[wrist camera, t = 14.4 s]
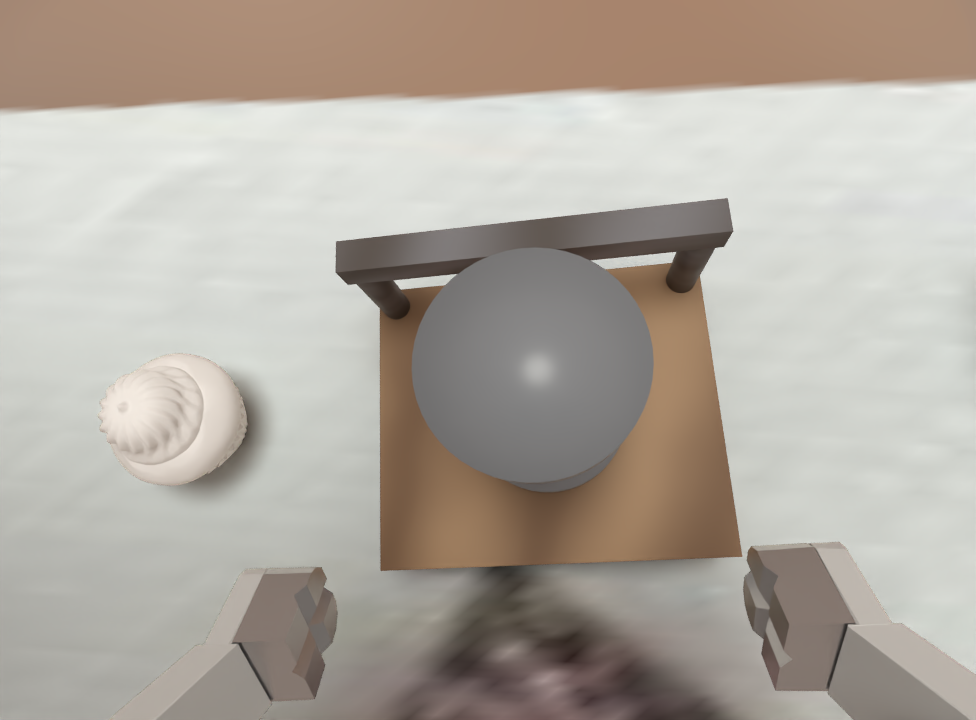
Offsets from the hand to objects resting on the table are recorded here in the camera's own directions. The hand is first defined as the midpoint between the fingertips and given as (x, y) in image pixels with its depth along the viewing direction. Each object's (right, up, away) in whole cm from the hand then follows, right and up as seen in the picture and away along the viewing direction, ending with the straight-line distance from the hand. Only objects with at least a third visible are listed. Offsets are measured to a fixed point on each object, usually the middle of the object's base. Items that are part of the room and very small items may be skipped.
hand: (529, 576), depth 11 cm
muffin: (-15, +1, +19) cm, 24 cm away
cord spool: (+2, +2, +13) cm, 13 cm away
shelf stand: (+2, +1, +17) cm, 17 cm away
